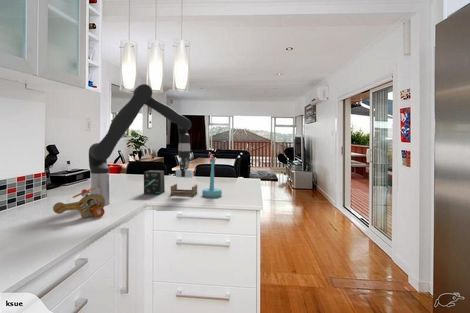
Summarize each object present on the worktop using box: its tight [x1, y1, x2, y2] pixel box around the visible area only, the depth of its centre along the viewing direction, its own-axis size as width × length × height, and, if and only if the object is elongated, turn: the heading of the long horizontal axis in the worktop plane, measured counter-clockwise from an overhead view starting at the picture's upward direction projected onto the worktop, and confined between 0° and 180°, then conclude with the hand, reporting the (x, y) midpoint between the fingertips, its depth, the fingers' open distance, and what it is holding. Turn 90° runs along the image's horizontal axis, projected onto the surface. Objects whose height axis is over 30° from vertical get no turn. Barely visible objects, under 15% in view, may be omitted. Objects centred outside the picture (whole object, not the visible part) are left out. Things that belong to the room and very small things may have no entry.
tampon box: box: [143, 170, 166, 195], centre depth 189 cm, size 11×9×15 cm
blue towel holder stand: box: [201, 156, 223, 198], centre depth 183 cm, size 13×12×25 cm
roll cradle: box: [170, 183, 198, 197], centre depth 187 cm, size 10×15×6 cm, turn 85°
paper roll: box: [175, 168, 194, 179], centre depth 186 cm, size 11×5×5 cm, turn 85°
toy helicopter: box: [52, 187, 106, 219], centre depth 129 cm, size 8×21×14 cm, turn 129°
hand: (184, 176), depth 186 cm, fingers closed on paper roll, 5 cm apart
